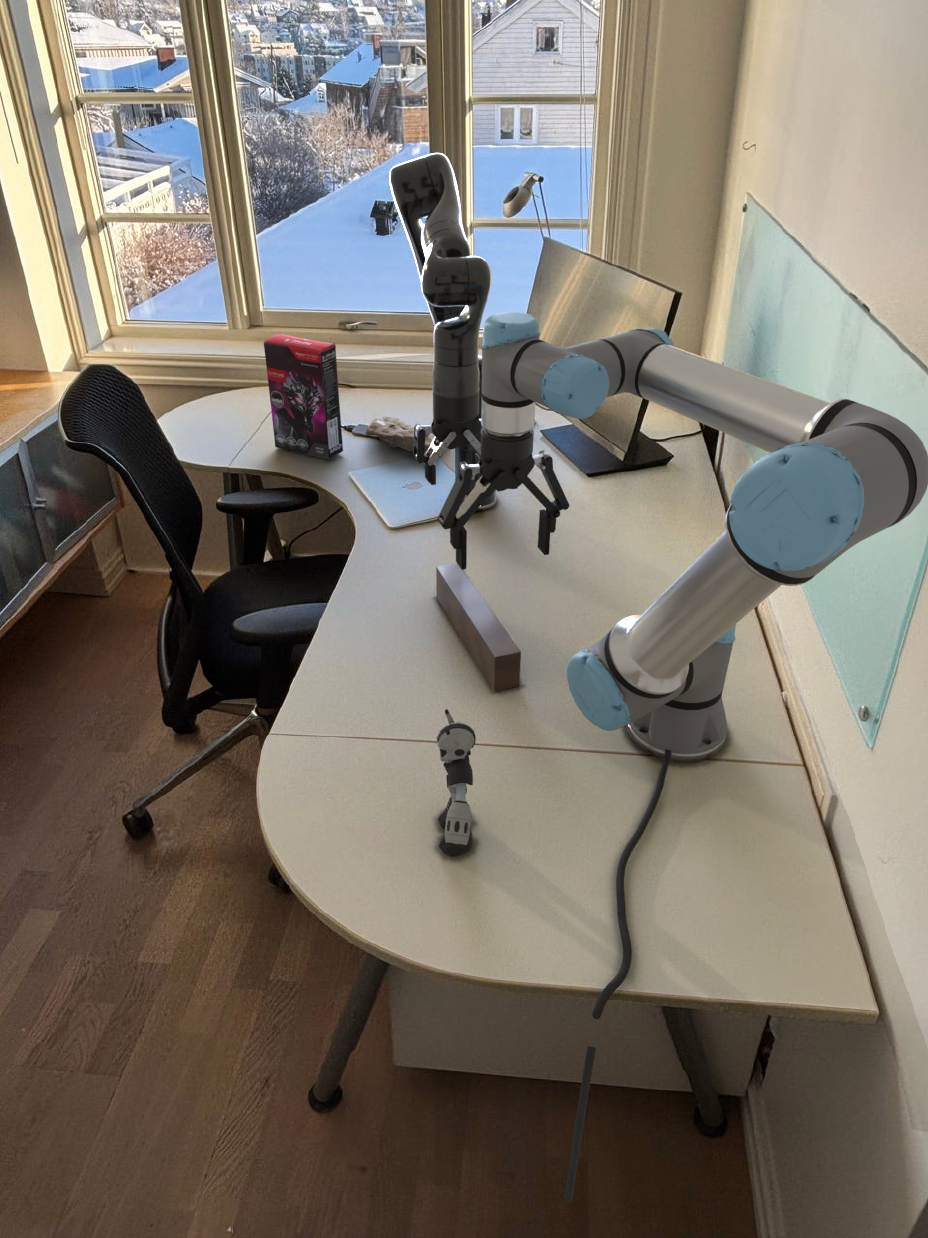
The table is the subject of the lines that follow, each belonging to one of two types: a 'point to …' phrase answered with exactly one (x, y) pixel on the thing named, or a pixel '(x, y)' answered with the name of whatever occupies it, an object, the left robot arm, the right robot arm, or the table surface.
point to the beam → (478, 627)
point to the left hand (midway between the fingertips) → (455, 479)
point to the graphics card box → (304, 395)
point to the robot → (456, 785)
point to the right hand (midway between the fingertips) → (502, 558)
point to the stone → (395, 433)
